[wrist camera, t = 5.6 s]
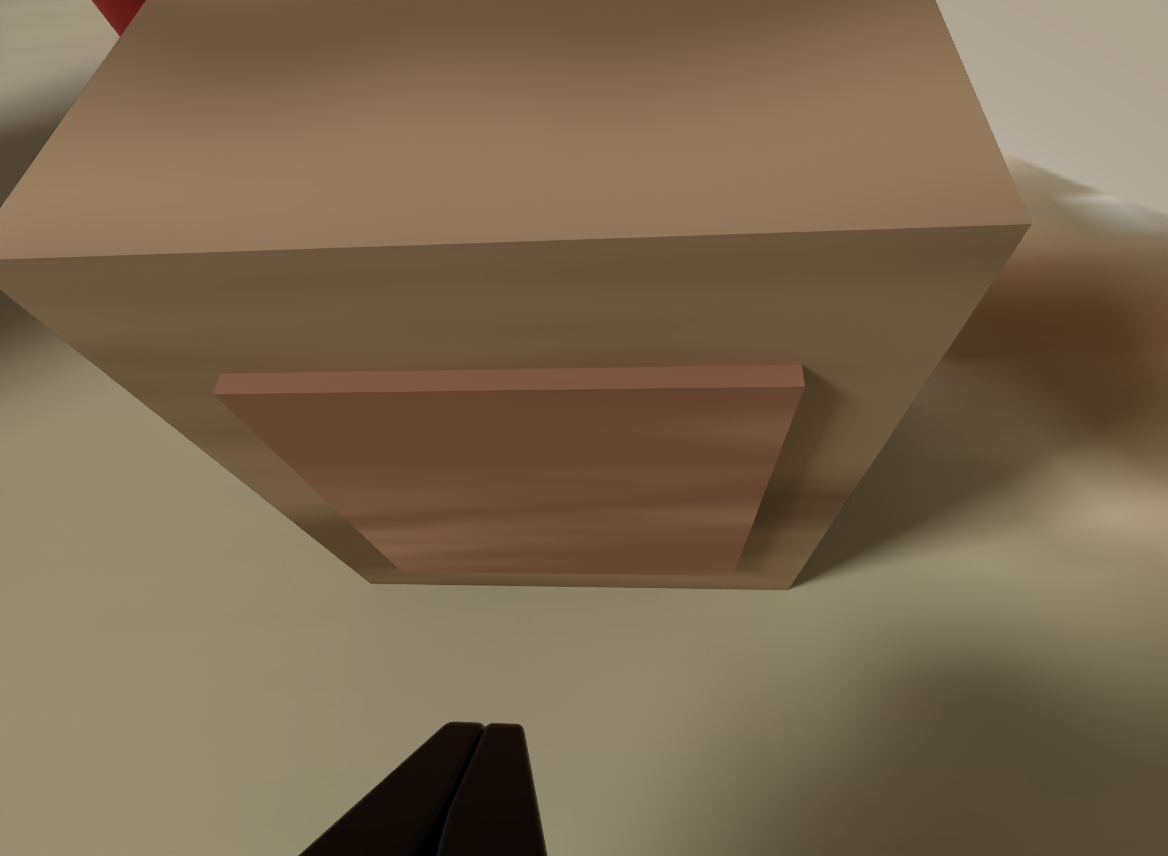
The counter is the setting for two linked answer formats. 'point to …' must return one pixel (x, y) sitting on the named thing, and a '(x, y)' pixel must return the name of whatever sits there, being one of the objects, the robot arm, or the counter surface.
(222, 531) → the counter surface
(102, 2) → the paper cup
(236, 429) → the wooden box
